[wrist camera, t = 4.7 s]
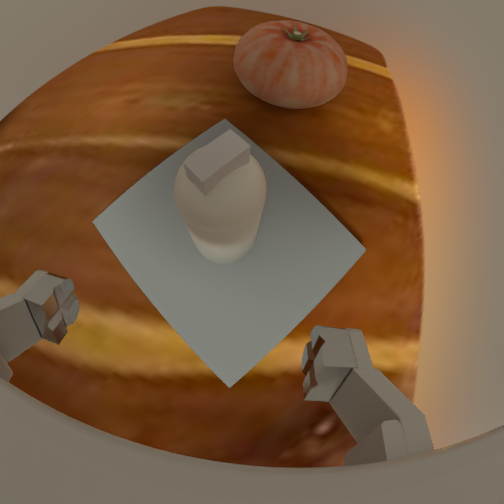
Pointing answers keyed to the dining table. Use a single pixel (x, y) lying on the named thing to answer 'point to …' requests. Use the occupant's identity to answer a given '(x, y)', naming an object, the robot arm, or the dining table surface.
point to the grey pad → (230, 275)
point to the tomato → (290, 64)
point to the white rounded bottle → (221, 198)
